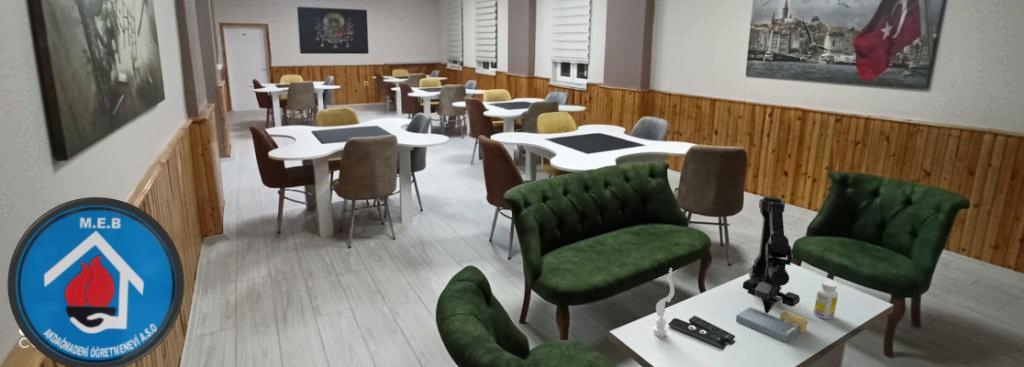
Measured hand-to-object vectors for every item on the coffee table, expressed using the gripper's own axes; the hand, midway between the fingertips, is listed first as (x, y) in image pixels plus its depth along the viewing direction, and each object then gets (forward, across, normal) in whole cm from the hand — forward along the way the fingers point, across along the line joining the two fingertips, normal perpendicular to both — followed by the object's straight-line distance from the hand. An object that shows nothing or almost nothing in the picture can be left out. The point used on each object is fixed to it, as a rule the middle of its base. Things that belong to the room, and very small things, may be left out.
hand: (766, 312), depth 206 cm
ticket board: (+1, +4, -8) cm, 9 cm away
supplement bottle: (+2, +13, +18) cm, 22 cm away
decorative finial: (+1, -16, -43) cm, 46 cm away
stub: (+1, +10, 0) cm, 10 cm away
